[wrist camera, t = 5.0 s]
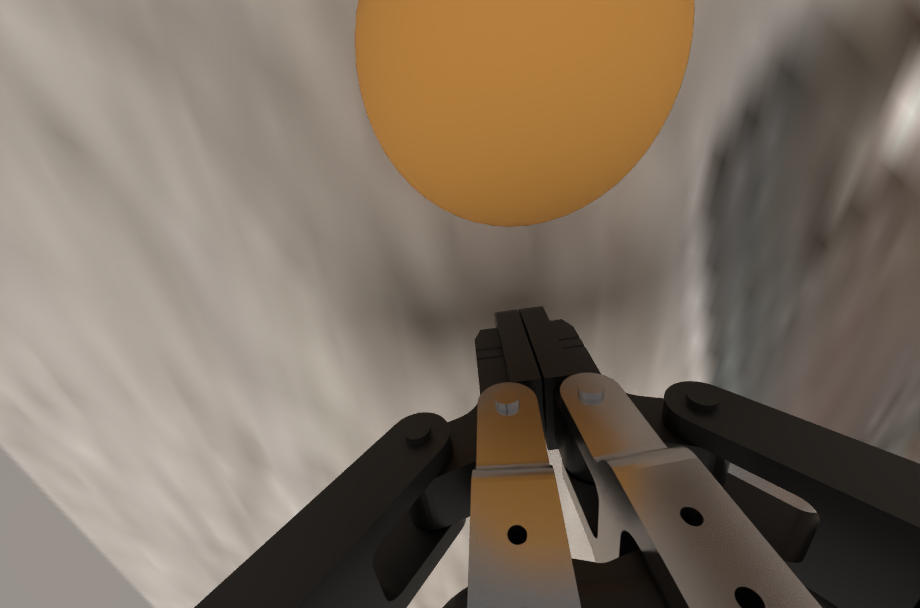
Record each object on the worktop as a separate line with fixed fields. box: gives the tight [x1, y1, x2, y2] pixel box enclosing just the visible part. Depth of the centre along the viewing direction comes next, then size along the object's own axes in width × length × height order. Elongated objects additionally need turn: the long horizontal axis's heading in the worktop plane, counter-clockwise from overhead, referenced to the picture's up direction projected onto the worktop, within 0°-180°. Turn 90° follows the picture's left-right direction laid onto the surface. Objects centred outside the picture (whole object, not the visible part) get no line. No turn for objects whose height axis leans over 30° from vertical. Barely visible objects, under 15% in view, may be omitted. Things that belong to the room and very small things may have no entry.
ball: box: [355, 0, 694, 227], centre depth 7 cm, size 6×6×6 cm
